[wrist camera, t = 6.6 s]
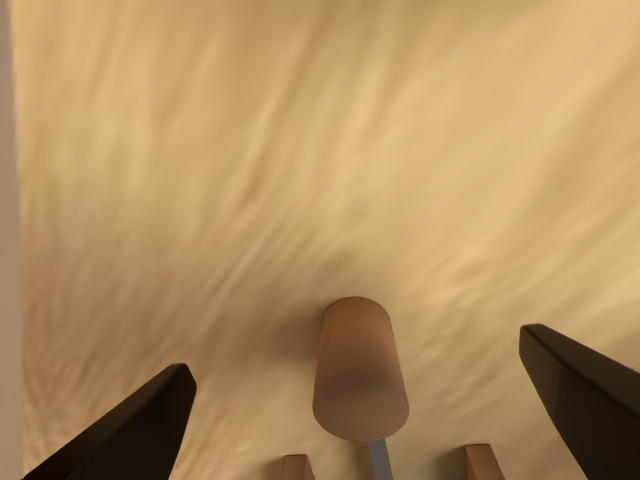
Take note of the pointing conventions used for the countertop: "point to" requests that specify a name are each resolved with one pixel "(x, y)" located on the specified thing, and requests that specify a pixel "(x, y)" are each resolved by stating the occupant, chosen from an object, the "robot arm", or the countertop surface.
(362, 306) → the tethered block
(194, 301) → the countertop surface
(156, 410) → the robot arm
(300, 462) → the shelf lane
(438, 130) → the countertop surface
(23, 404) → the countertop surface
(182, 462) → the countertop surface
